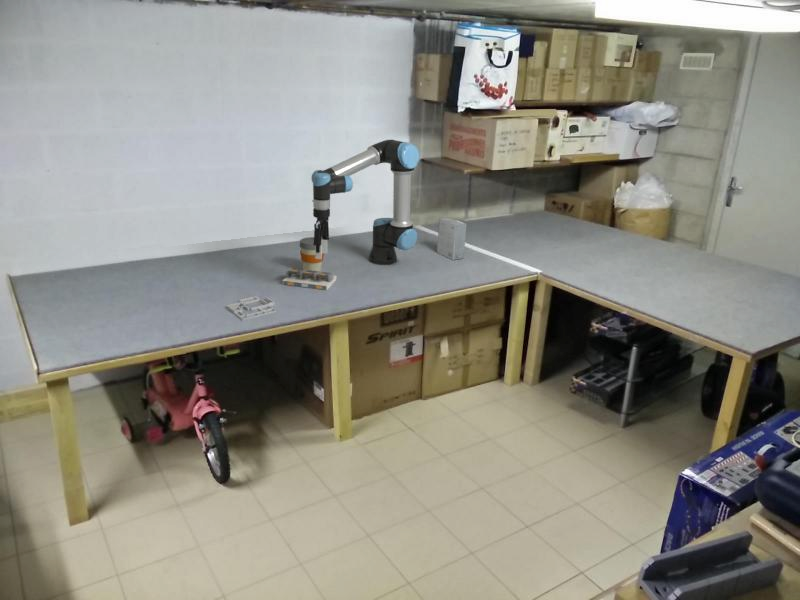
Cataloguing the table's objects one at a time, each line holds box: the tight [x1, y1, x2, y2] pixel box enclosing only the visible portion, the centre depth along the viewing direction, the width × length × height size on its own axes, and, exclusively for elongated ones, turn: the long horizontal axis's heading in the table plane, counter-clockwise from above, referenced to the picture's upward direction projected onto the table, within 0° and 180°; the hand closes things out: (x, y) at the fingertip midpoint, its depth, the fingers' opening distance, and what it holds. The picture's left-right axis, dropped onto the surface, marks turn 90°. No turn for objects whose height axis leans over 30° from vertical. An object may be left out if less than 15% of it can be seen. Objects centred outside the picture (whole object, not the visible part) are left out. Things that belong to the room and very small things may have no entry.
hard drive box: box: [436, 217, 468, 261], centre depth 347 cm, size 16×8×20 cm, turn 34°
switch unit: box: [282, 267, 337, 291], centre depth 300 cm, size 22×16×5 cm
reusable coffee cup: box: [299, 236, 325, 271], centre depth 315 cm, size 12×13×15 cm
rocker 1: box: [288, 268, 304, 274], centre depth 300 cm, size 5×10×1 cm, turn 169°
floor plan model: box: [226, 296, 277, 321], centre depth 270 cm, size 19×25×2 cm
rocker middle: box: [302, 270, 317, 276], centre depth 299 cm, size 5×10×1 cm, turn 168°
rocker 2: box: [317, 271, 332, 278], centre depth 298 cm, size 5×10×1 cm, turn 168°
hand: (321, 255), depth 290 cm, fingers open, 8 cm apart
